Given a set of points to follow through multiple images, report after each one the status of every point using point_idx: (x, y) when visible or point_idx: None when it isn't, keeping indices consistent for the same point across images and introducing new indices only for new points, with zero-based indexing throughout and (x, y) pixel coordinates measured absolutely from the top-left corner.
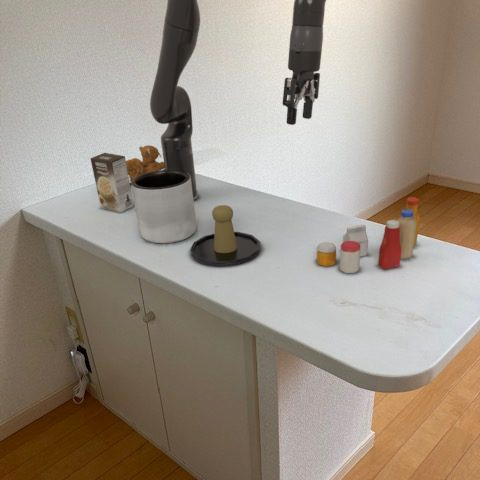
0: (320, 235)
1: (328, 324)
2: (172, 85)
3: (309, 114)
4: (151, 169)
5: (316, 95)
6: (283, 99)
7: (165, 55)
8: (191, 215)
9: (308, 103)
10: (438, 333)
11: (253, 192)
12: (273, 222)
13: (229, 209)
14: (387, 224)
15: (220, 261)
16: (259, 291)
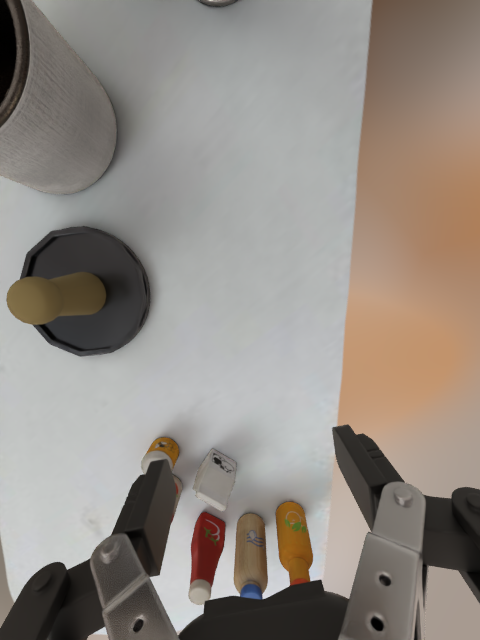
0: (240, 387)
1: (44, 532)
2: None
3: (345, 473)
4: None
5: (469, 578)
6: (5, 625)
7: None
8: (56, 178)
9: (371, 513)
10: None
11: (356, 104)
12: (236, 279)
13: (34, 320)
14: (189, 589)
15: (38, 330)
16: (37, 425)
